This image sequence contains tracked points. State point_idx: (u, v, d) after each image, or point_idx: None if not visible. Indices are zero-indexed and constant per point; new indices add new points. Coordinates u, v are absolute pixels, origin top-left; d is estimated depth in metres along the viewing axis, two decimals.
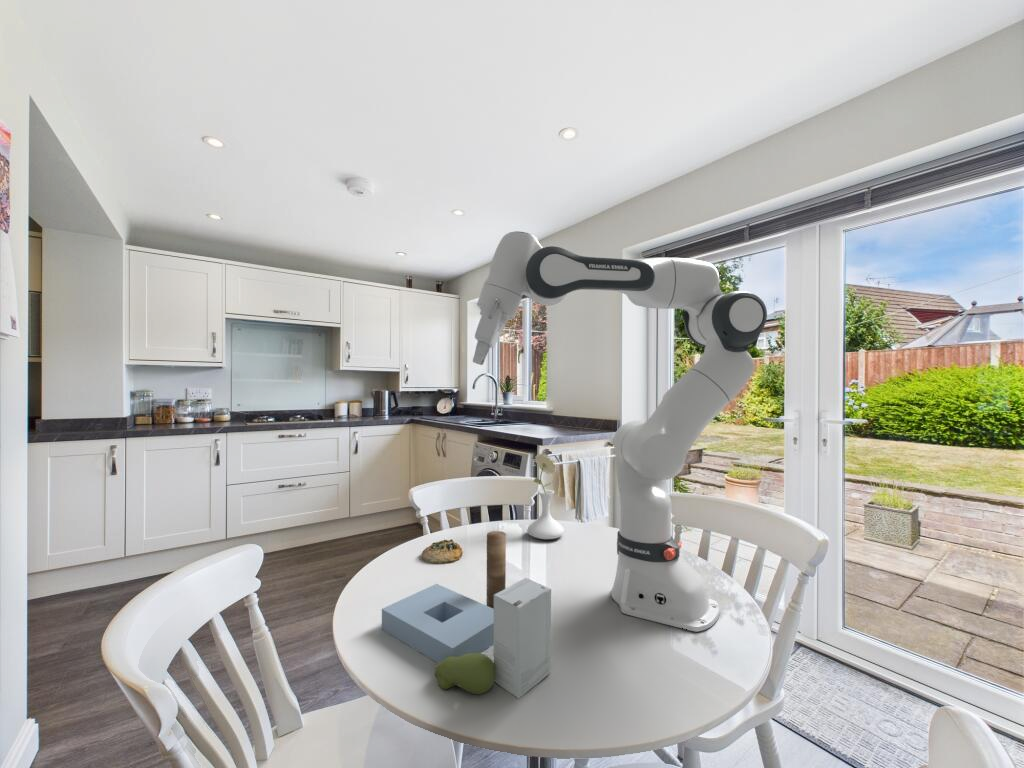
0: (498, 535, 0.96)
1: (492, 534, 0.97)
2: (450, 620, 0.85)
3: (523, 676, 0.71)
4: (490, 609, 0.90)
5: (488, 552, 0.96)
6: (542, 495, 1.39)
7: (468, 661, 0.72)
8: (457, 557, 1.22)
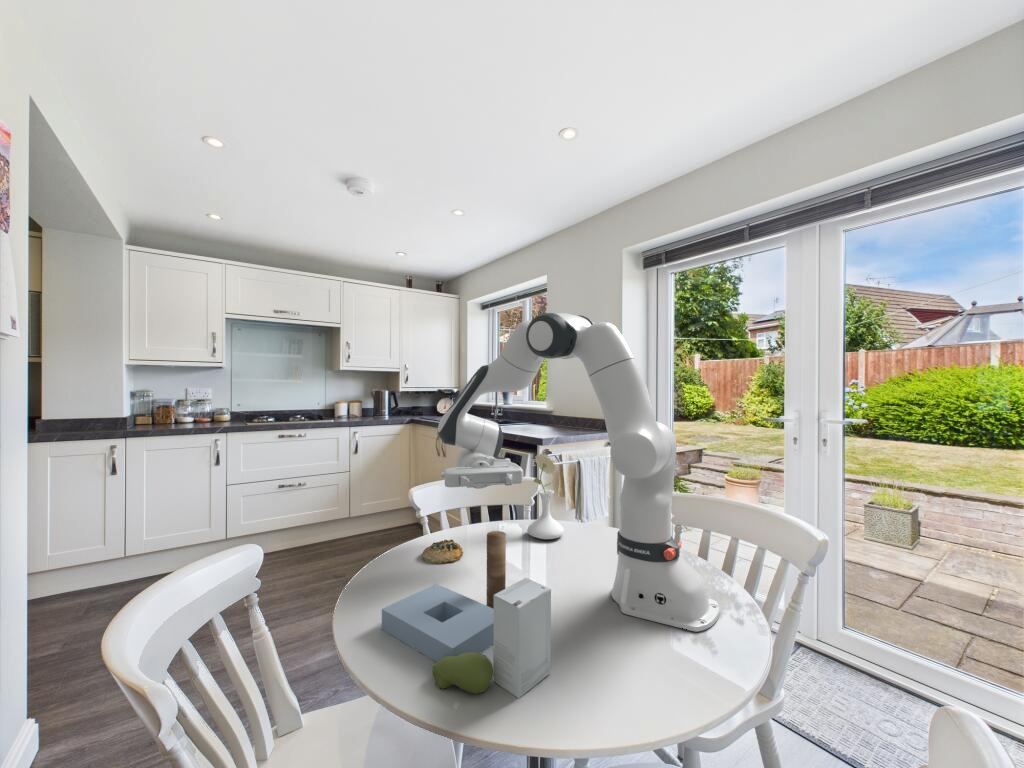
0: (498, 535, 0.96)
1: (492, 534, 0.97)
2: (450, 620, 0.85)
3: (523, 676, 0.71)
4: (490, 609, 0.90)
5: (488, 552, 0.96)
6: (542, 495, 1.39)
7: (465, 660, 0.72)
8: (457, 557, 1.22)
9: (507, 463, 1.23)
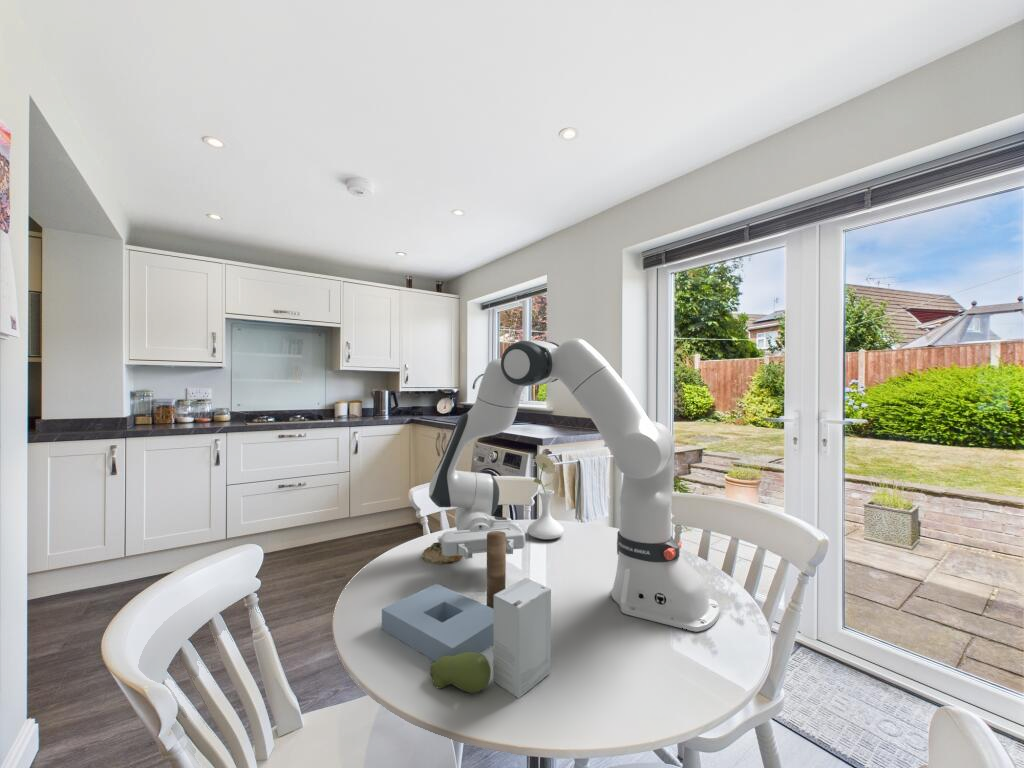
0: (498, 535, 0.96)
1: (492, 534, 0.97)
2: (450, 620, 0.85)
3: (523, 676, 0.71)
4: (490, 609, 0.90)
5: (488, 552, 0.96)
6: (542, 495, 1.39)
7: (463, 660, 0.72)
8: (458, 557, 1.22)
9: (508, 524, 1.16)
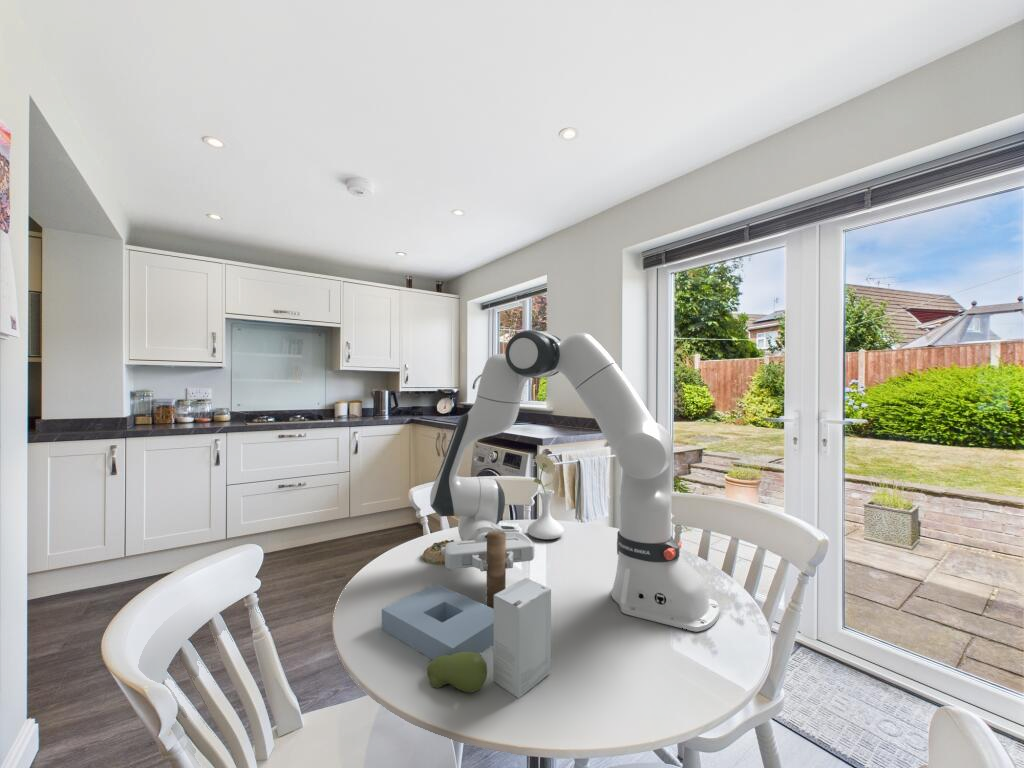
0: (498, 535, 0.96)
1: (492, 534, 0.97)
2: (450, 620, 0.85)
3: (523, 676, 0.71)
4: (490, 609, 0.90)
5: (488, 552, 0.96)
6: (542, 495, 1.39)
7: (460, 659, 0.72)
8: None
9: (516, 534, 1.09)
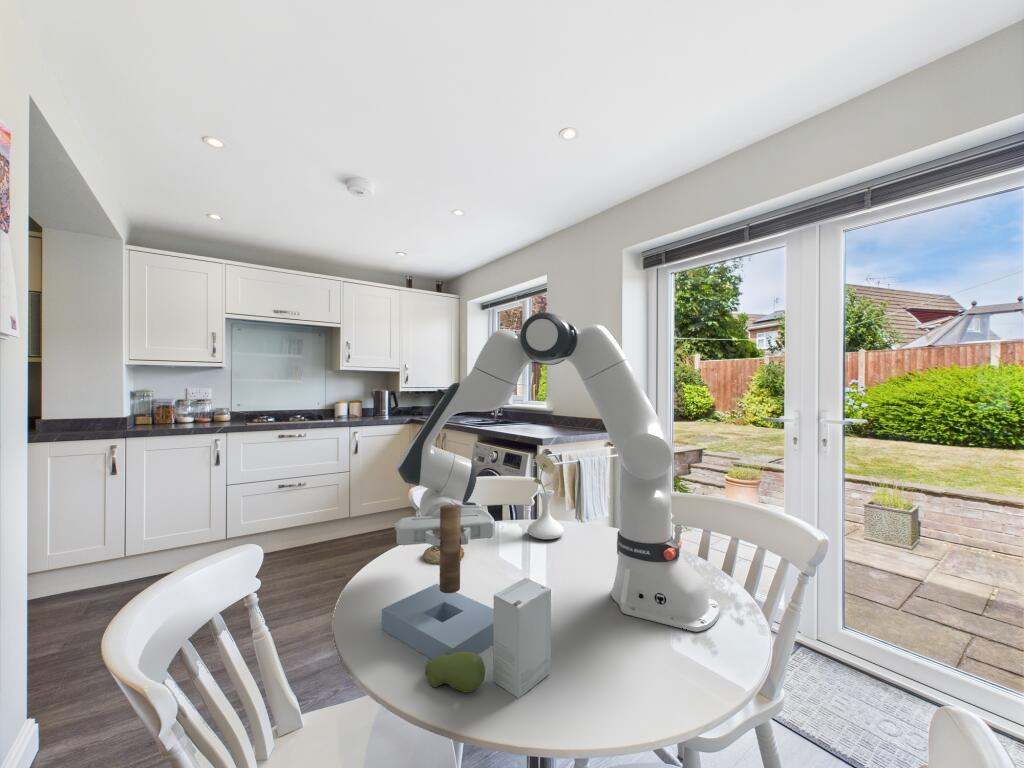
0: (452, 508, 0.89)
1: (446, 507, 0.89)
2: (450, 620, 0.85)
3: (523, 676, 0.71)
4: (490, 609, 0.90)
5: (441, 526, 0.89)
6: (542, 495, 1.39)
7: (458, 659, 0.72)
8: None
9: (477, 510, 1.01)
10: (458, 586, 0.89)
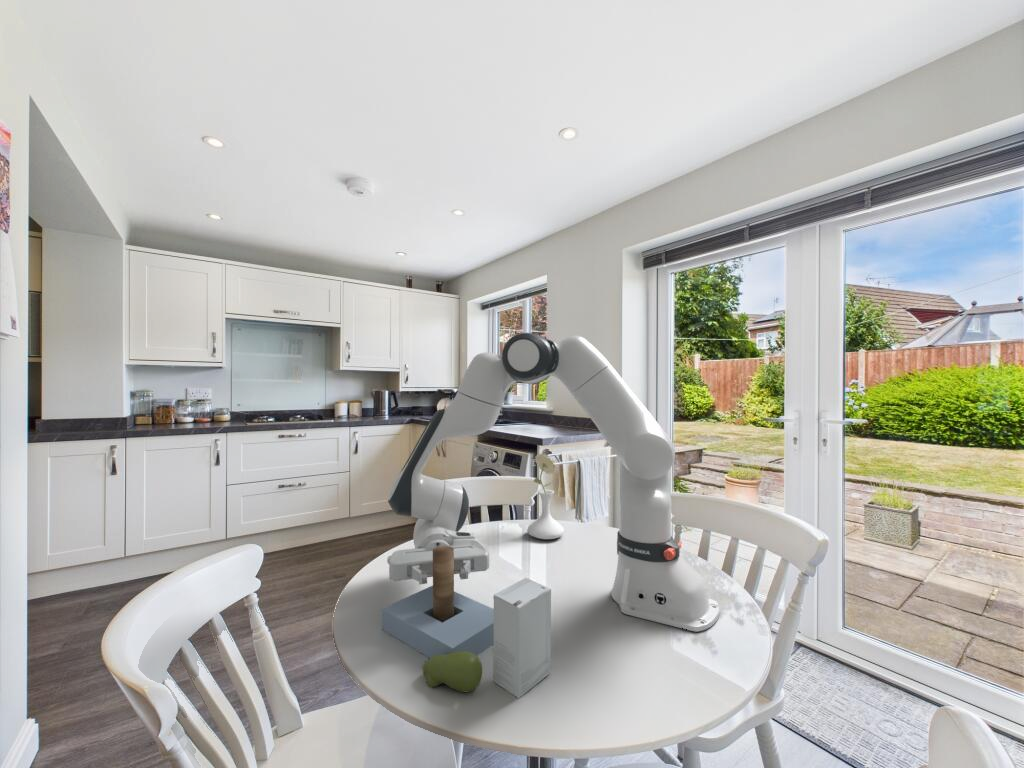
0: (445, 551, 0.88)
1: (438, 550, 0.88)
2: (450, 620, 0.85)
3: (523, 676, 0.71)
4: (490, 609, 0.90)
5: (434, 570, 0.87)
6: (542, 495, 1.39)
7: (455, 659, 0.73)
8: None
9: (471, 541, 1.00)
10: None
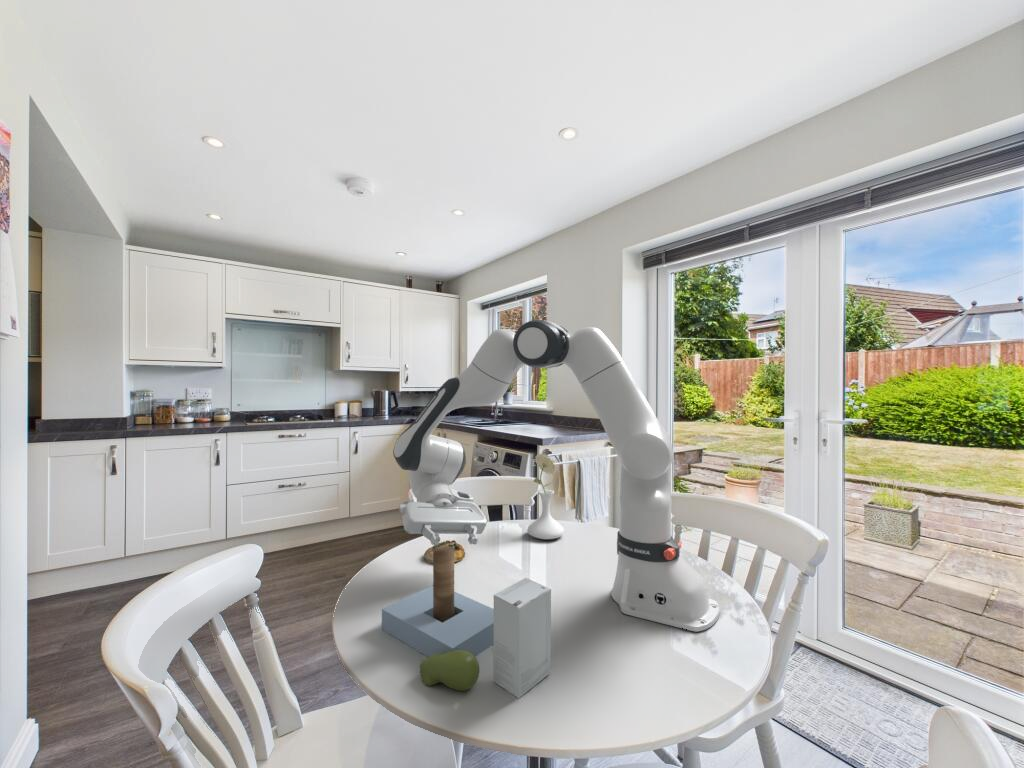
0: (445, 551, 0.88)
1: (439, 550, 0.88)
2: (450, 620, 0.85)
3: (523, 676, 0.71)
4: (490, 609, 0.90)
5: (434, 570, 0.87)
6: (542, 495, 1.39)
7: (452, 658, 0.73)
8: (459, 558, 1.22)
9: (470, 504, 1.15)
10: None
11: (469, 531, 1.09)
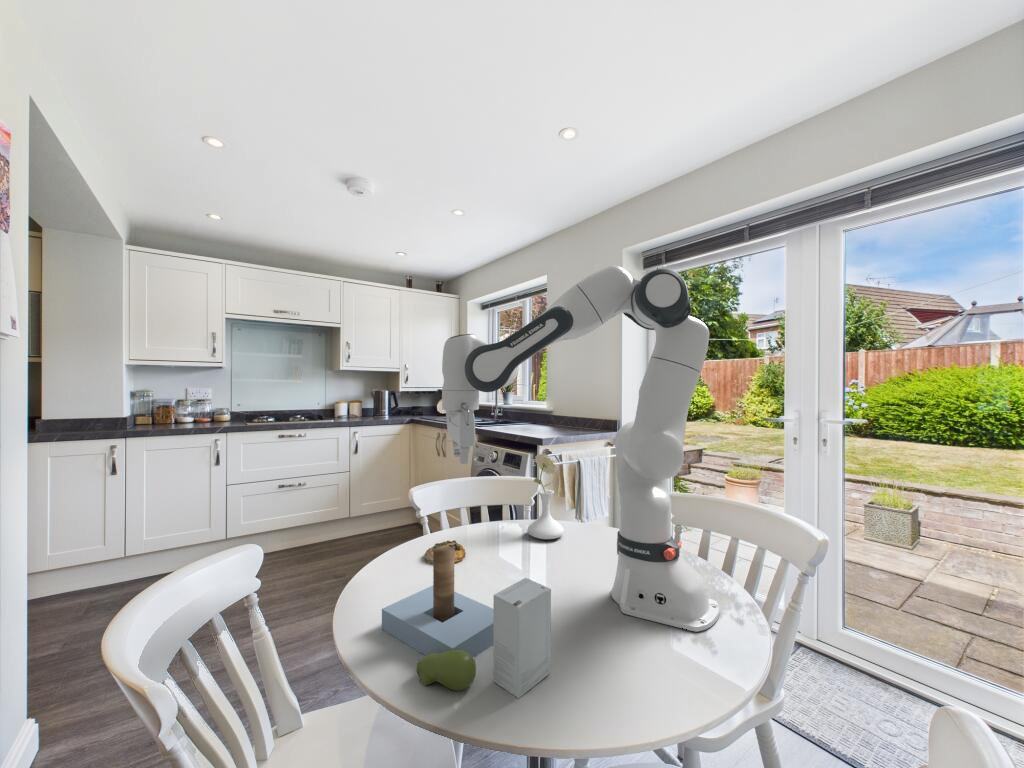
0: (446, 551, 0.88)
1: (439, 550, 0.88)
2: (450, 620, 0.85)
3: (523, 676, 0.71)
4: (490, 609, 0.90)
5: (434, 570, 0.87)
6: (542, 495, 1.39)
7: (448, 657, 0.73)
8: (460, 558, 1.22)
9: None
10: None
11: None
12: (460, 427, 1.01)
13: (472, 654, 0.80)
